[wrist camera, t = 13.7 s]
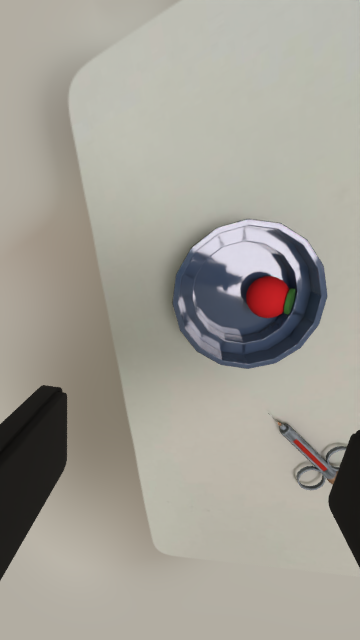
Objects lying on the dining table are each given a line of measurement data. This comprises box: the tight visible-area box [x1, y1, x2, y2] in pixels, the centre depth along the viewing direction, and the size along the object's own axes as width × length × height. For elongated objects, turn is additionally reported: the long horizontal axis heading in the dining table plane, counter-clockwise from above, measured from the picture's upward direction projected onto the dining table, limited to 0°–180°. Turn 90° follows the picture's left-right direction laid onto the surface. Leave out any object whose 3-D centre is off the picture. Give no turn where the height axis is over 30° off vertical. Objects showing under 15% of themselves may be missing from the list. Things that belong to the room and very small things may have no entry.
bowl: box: [173, 219, 327, 369], centre depth 26 cm, size 13×13×5 cm
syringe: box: [268, 413, 347, 490], centre depth 32 cm, size 8×18×2 cm, turn 45°
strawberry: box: [246, 276, 295, 318], centre depth 26 cm, size 4×4×4 cm
